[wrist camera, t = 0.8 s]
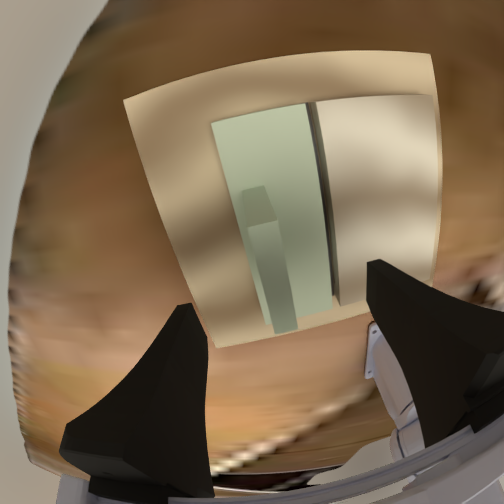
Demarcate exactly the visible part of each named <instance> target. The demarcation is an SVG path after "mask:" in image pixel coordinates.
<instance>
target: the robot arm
mask: <svg viewBox="0 0 504 504" xmlns="http://www.w3.org/2000/svg"><path fill="white" fill-rule="evenodd" d="M366 302H367V304H368V306H369V309H370V311H371V314H372V316H373V318H374V320H375V323H372V324H371V325H370V326H369V335H368V346H367V357H366V366H365V374H364V376H365V378H366V379H369V378H372V377H373V378H374V380H375V382H376V385H377V387H378V389H379V392H380V394H381V397H382V399H383V401H384V404H385V406H386V409H387V411H388V413H389V415H390V416H391V417H392V418H393V419H394V421H395V424H396V426H397V428H395V429H394V430H393V432H392V435H391V439H390V450H391V454H392V457H393V460H394V462H393V463H390V464H388V465H385V466H382V467H380V468H377V469H374V470H371V471H368V472H365V473H362V474H359V475H356V476H352V477H349V478H346V479H342V480H338V481H334V482H330V483H326V484H322V485H318V486H313V487H308V488H303V489H298V490H292V491H286V492H280V493H273V494H265V495H256V496H245V497H229V498H214V497H215V494H214V489H213V484H212V478H211V472H210V466H209V458H208V450H207V439H206V426H205V397H206V383H207V371H208V342H207V336H206V334H205V332H204V329H203V327H202V325H201V323H200V321H199V319H198V316H197V314H196V312H195V310H194V308H193V305H192V303H187V304H182V305H177V307H176V308H175V310H174V311H173V313H172V314H171V316H170V317H169V319H168V320H167V322H166V323H165V325H164V327H163V328H162V329H161V331H160V332H159V334H158V335H157V337H156V338H155V340H154V341H153V343H152V344H151V346H150V347H149V348H148V350H147V351H146V352H145V354H144V355H143V356H142V358H141V359H140V360H139V362H138V363H137V364H136V365H135V366H134V368H133V369H132V370H131V371H130V372H129V373H128V374H127V375H126V377H125V378H124V379H123V380H122V381H121V382H120V383H119V384H118V385H117V386H116V387H115V388H113V389H112V390H111V391H110V392H109V393H108V394H107V395H106V396H105V397H104V398H102V399H101V400H100V401H99V402H98V403H96V404H95V405H94V406H93V407H91V408H90V409H89V410H87V411H86V412H84V413H83V414H81V415H80V416H78V417H77V418H75V419H74V420H72V421H71V422H69V423H67V424H66V427H65V431H64V434H63V438H62V441H61V445H60V449H59V453H60V455H61V456H62V457H63V458H64V459H65V460H66V461H67V462H69V463H70V464H72V465H74V466H75V467H77V468H79V469H80V470H82V471H84V472H85V473H87V474H89V475H91V478H90V482H89V481H87V480H84V479H81V478H77V477H74V476H70V475H66V474H61V479H60V484H59V489H58V494H57V500H56V504H329V503H333V502H336V501H341V500H344V499H348V498H352V497H355V496H358V495H361V494H365V493H367V492H371V491H374V490H377V489H379V488H382V487H385V486H388V485H390V484H393V483H395V482H398V481H400V480H403V479H405V478H406V479H407V480H408V482H409V484H408V485H406V486H405V487H403V489H402V490H403V492H401V493H398V494H396V495H393V496H390V497H388V498H385V499H382V500H379V501H376V502H373V503H370V504H504V492H503V489H502V487H501V484H500V482H499V478H501V477H502V476H503V475H504V312H501V311H497V310H492V309H488V308H484V307H480V306H477V305H474V304H471V303H468V302H465V301H462V300H459V299H457V298H455V297H452V296H450V295H447V294H445V293H443V292H441V291H439V290H437V289H435V288H433V287H430V286H428V285H427V284H425V283H423V282H421V281H419V280H417V279H415V278H414V277H412V276H410V275H408V274H407V273H405V272H403V271H401V270H400V269H398V268H396V267H394V266H393V265H391V264H389V263H387V262H386V261H384V260H382V259H377V260H373V261H369V262H367V283H366Z"/></svg>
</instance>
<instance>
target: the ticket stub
mask: <svg viewBox="0 0 504 504" xmlns="http://www.w3.org/2000/svg"><path fill="white" fill-rule="evenodd" d="M211 126H212V129H213V133H214V137H215V141H216V144H217V148H218V152H219V156H220V159H221V163H222V167H223V170H224V174H225V178H226V182H227V185H228V189H229V193H230V196H231V200H232V204H233V207H234V211H235V215H236V218H237V222H238V226H239V229H240V233H241V237H242V240H243V244H244V248H245V251H246V255H247V259H248V262H249V266H250V269H251V273H252V277H253V280H254V284H255V287H256V291H257V295H258V298H259V302H260V306H261V309H262V313H263V316H264V320H265V323H266V325H268V324H272V325H273V329H274V333H275V334H280V333H284V332H289V331H293V330H297V329H298V324H297V319H296V318H298V317H303V316H307V315H311V314H315V313H318V312H322V311H326V310H330V309H333V305H332V291H331V278H330V267H329V257H328V247H327V238H326V229H325V221H324V213H323V205H322V198H321V191H320V184H319V177H318V171H317V165H316V159H315V153H314V147H313V141H312V136H311V130H310V125H309V120H308V115H307V110H306V105H305V104H294V105H288V106H282V107H277V108H272V109H266V110H261V111H257V112H252V113H247V114H243V115H239V116H234V117H230V118H226V119H222V120H218V121H215V122H212V123H211Z"/></svg>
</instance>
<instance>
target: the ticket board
mask: <svg viewBox="0 0 504 504" xmlns="http://www.w3.org/2000/svg"><path fill="white" fill-rule="evenodd" d="M123 101H124V105H125V109H126V112H127V116H128V119H129V122H130V126H131V129H132V133H133V136H134V139H135V142H136V146H137V149H138V152H139V155H140V158H141V161H142V164H143V167H144V170H145V173H146V176H147V179H148V182H149V185H150V188H151V191H152V194H153V197H154V199H155V202H156V205H157V208H158V211H159V213H160V216H161V219H162V221H163V224H164V227H165V229H166V232H167V235H168V237H169V240H170V242H171V245H172V247H173V250H174V252H175V255H176V257H177V260H178V262H179V265H180V267H181V270H182V272H183V275H184V277H185V279H186V282H187V284H188V286H189V289H190V291H191V293H192V296H193V298H194V300H195V303H196V305H197V307H198V309H199V312H200V314H201V316H202V318H203V320H204V323H205V325H206V327H207V329H208V331H209V334H210V336H211V338H212V340H213V342H214V344H215V346H216V348H221V347H226V346H232V345H237V344H242V343H247V342H252V341H257V340H262V339H267V338H271V337H276V336H280V335H285V334H289V333H293V332H297V331H301V330H305V329H309V328H313V327H317V326H321V325H325V324H329V323H332V322H336V321H340V320H343V319H347V318H350V317H354V316H357V315H361V314H364V313H367V312H371V311H370V309H369V306H368V304H367V302H366V283H367V262H369V261H373V260H377V259H382V260H384V261H386V262H387V263H389V264H391V265H393V266H394V267H396V268H398V269H400V270H401V271H403V272H405V273H407V274H408V275H410V276H412V277H414V278H415V279H417V280H419V281H421V282H423V283H425V284H427V285H428V286H430V287H432V284H433V278H434V272H435V265H436V258H437V250H438V242H439V232H440V220H441V204H442V142H441V126H440V115H439V105H438V97H437V90H436V83H435V77H434V71H433V66H432V60H431V56H430V54H424V53H414V52H400V51H333V52H319V53H308V54H298V55H290V56H283V57H276V58H270V59H264V60H258V61H253V62H247V63H242V64H238V65H233V66H229V67H224V68H220V69H216V70H212V71H208V72H205V73H201V74H197V75H194V76H191V77H187V78H184V79H181V80H177V81H174V82H171V83H168V84H165V85H162V86H159V87H157V88H154V89H151V90H148V91H146V92H143V93H140V94H138V95H135V96H133V97H130V98H128V99H126V100H123ZM294 104H305V105H306V110H307V115H308V120H309V125H310V130H311V136H312V141H313V147H314V153H315V159H316V165H317V171H318V177H319V184H320V191H321V198H322V205H323V213H324V221H325V229H326V238H327V247H328V257H329V267H330V278H331V291H332V305H333V309H330V310H326V311H322V312H318V313H315V314H311V315H307V316H303V317H298V318H296V319H297V324H298V329H297V330H293V331H289V332H284V333H280V334H275V333H274V329H273V325H272V324H268V325H266V323H265V320H264V316H263V313H262V309H261V306H260V302H259V298H258V295H257V291H256V287H255V284H254V280H253V277H252V273H251V269H250V266H249V262H248V259H247V255H246V251H245V248H244V244H243V240H242V237H241V233H240V229H239V226H238V222H237V218H236V215H235V211H234V207H233V204H232V200H231V196H230V193H229V189H228V185H227V182H226V178H225V174H224V170H223V167H222V163H221V159H220V156H219V152H218V148H217V144H216V141H215V137H214V133H213V129H212V126H211V123H212V122H215V121H218V120H222V119H226V118H230V117H234V116H239V115H243V114H247V113H252V112H257V111H261V110H266V109H272V108H277V107H282V106H288V105H294Z"/></svg>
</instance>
